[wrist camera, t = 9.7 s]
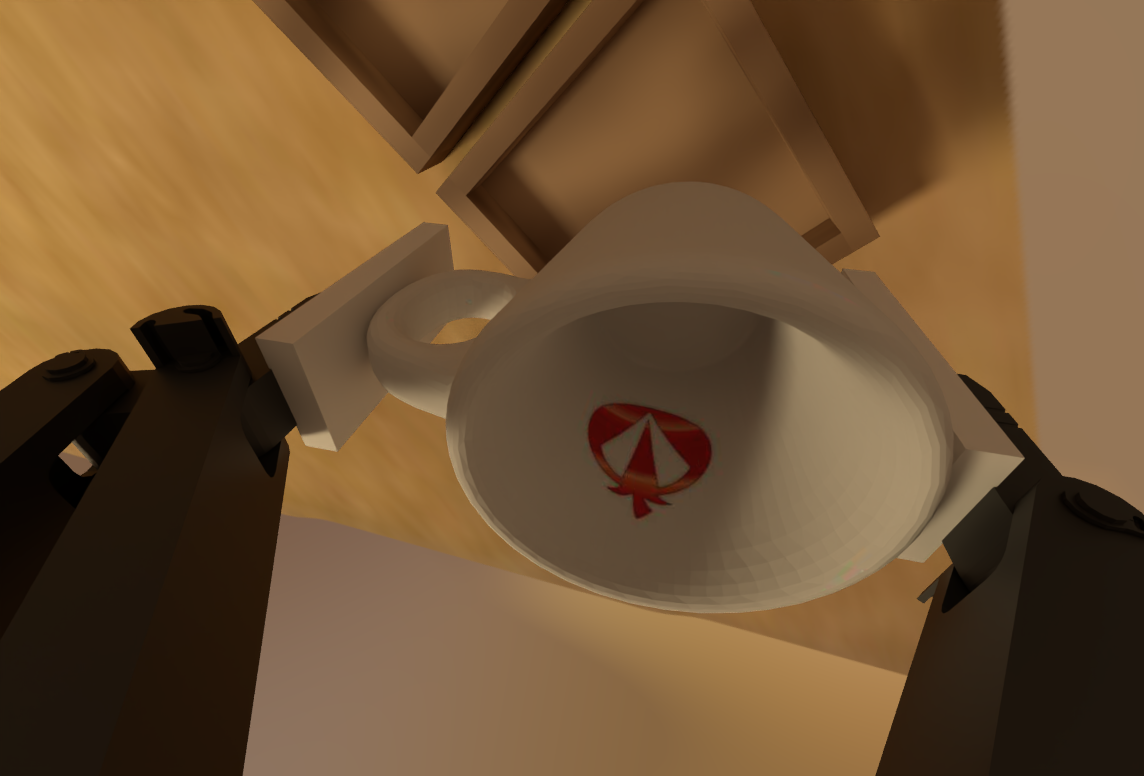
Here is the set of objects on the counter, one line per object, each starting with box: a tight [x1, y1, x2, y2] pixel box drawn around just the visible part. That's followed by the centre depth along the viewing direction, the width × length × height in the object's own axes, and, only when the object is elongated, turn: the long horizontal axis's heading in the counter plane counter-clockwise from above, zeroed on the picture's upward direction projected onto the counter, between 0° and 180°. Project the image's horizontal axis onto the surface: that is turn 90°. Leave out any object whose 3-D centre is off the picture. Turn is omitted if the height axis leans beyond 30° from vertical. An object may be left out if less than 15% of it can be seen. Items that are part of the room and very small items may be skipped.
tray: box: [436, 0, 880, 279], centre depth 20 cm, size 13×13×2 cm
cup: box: [367, 182, 954, 613], centre depth 11 cm, size 11×8×8 cm
